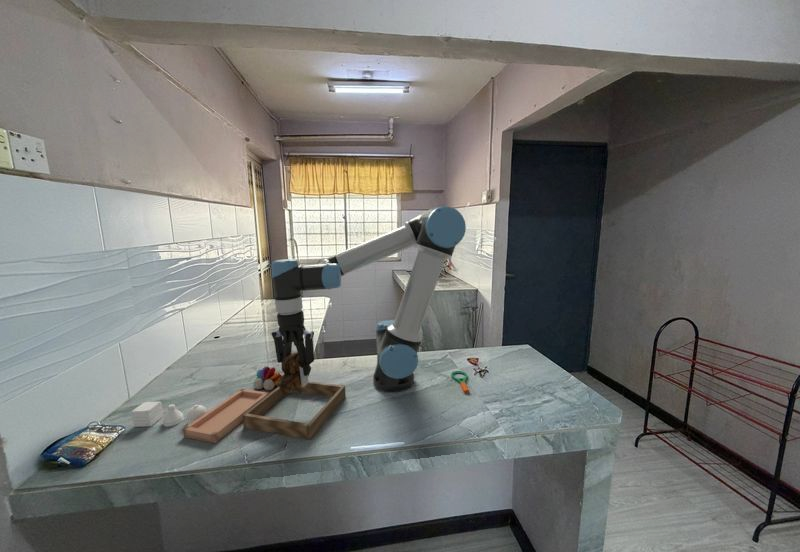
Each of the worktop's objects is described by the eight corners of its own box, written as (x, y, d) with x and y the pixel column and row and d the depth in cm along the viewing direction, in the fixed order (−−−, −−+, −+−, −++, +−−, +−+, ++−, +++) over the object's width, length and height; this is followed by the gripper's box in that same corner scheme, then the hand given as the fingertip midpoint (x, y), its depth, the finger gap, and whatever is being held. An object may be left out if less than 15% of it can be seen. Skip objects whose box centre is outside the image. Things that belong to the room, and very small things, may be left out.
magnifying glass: (449, 374, 120) (449, 369, 120) (465, 373, 121) (465, 369, 120) (457, 395, 106) (457, 390, 105) (475, 394, 106) (475, 389, 105)
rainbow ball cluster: (274, 392, 109) (272, 373, 108) (249, 390, 111) (247, 371, 110) (287, 381, 118) (285, 362, 116) (264, 379, 120) (262, 361, 118)
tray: (269, 399, 105) (268, 392, 104) (215, 443, 84) (214, 435, 84) (242, 395, 108) (242, 388, 107) (183, 437, 87) (182, 428, 87)
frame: (345, 396, 105) (345, 385, 105) (310, 439, 84) (309, 426, 84) (289, 389, 111) (288, 378, 111) (243, 427, 90) (242, 415, 90)
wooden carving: (293, 399, 88) (288, 366, 87) (278, 399, 89) (273, 366, 87) (316, 372, 104) (312, 343, 103) (303, 372, 105) (299, 344, 103)
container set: (133, 428, 92) (130, 411, 91) (147, 417, 97) (145, 401, 96) (201, 426, 92) (199, 409, 91) (211, 415, 97) (209, 399, 96)
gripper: (321, 308, 94) (329, 380, 98) (273, 307, 99) (282, 375, 102) (308, 315, 87) (316, 393, 91) (257, 314, 91) (267, 387, 95)
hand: (298, 383), depth 96 cm, fingers closed on wooden carving, 4 cm apart
